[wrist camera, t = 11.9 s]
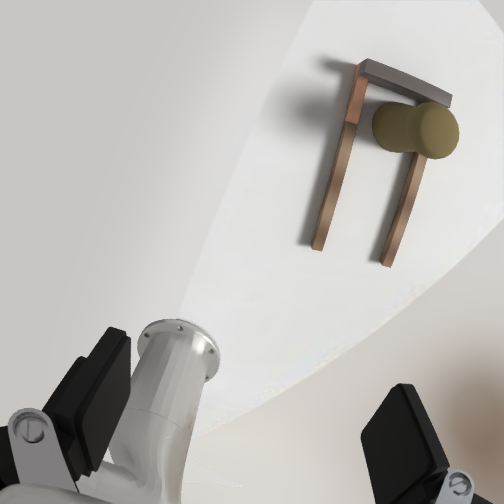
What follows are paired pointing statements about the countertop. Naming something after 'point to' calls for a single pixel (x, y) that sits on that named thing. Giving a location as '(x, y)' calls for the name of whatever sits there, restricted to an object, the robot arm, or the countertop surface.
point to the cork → (416, 129)
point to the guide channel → (363, 75)
